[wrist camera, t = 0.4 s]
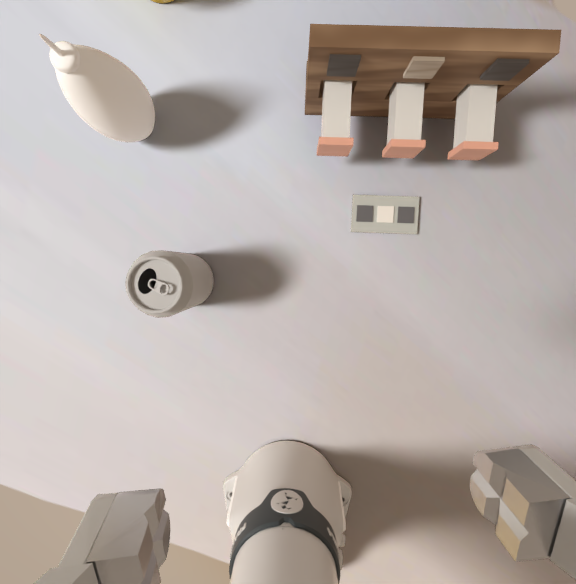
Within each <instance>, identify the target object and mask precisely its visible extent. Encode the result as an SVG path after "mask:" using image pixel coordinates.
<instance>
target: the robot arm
mask: <svg viewBox="0 0 576 584" xmlns="http://www.w3.org/2000/svg"><path fill="white" fill-rule="evenodd" d="M473 464H474V466H475V467H476V468H477V470H476V471H475V472H474V473H473V474H472V475H471V477H470V486H469V487H470V491H471V495H472V499H473V501H474V503H475V505H476V507H477V509H478V510H479V512H480V513H481V514H482V516H483V517H484V518H486V519H487V520H489V521H490V522H492V523H493V524H495V534H496V536H497V537H498V538H499V540H500V541H501V543H502V544H503V545H504V547H505V548H506V550H507V551H508V552H509V554H510V555H511V557H512V558H513V559H514V561H515V562H520V561H529V560H538V559H547V558H550V561H551V562H553V563H554V564H555V565H556V566H558V567H559V568H560V569H562V570H563V571H564V572H566V573H567V574H568V575H570V576H571V577H572V578H574V579H575V580H576V481H575V480H574V479H573V478H572V477H571V476H570V475H568V474H567V473H566V472H565V471H564V470H563V469H562V468H561V467H559V466H558V465H557V464H556V463H555V462H554V461H553V460H552V459H550V458H549V457H548V456H547V455H546V454H545V453H544V452H543V451H542V450H540V449H539V448H538V447H536V446H534V445H532V444H531V445H523V446H515V447H506V448H499V449H491V450H483V451H477V452H476V454H475V455H474V459H473ZM223 492H224V498H225V503H226V508H227V514H228V516H227V526H229V528H230V535H231V539H232V543H233V545H232V549H231V554H230V559H231V560H230V568H229V573H230V584H339V580H340V570H341V569H342V564H343V553H342V550H341V549H338V548H339V547H344V546H345V535H344V534H343V532H344V531H345V530H346V522H345V518H346V515H347V511H348V507H349V503H350V500H351V496H352V489H351V485H350V484H349V483H348V482H347V481H346V480H345V479H343V478H342V477H340V476H339V475H337V474H336V473H335V472H334V470H333V469H332V467H331V465H330V464H329V462H328V461H327V460H326V458H325V457H324V456H323V455H322V454H321V453H320V452H318V451H317V450H316V449H314V448H312V447H311V446H308V445H306V444H304V443H300V442H296V441H278V442H273V443H270V444H267V445H265V446H263V447H261V448H260V449H258V450H257V451H255V452H254V453H253V454H252V455H251V456H250V457H249V458H248V460H247V461H246V462H245V464H244V465H243V466H242V467H241V468H240V469H239V470H238V471H236V472H234V473H232V474H231V475H229V476H228V477H227V478H226V479H225V480H224V483H223ZM230 492H232V494H231V493H230ZM342 497H343V499H342ZM165 501H166V498H165V494H164V490H163V489H161V488H160V489H149V490H138V491H127V492H119V493H109V494H98V495H97V496H96V497H95V498H94V499H93V500H92V501H91V503H90V505H89V507H88V509H87V511H86V513H85V515H84V517H83V519H82V521H81V523H80V525H79V527H78V528H77V530H76V532H75V534H74V536H73V538H72V540H71V542H70V544H69V546H68V548H67V550H66V552H65V554H64V556H63V557H62V560H61V561H60V563H59V565H58V567H57V568H51V569H49V570H48V571H47V572H46V573H45V574H43V575H42V576H41V577H40V578H39V579H38V580H37V581H36V582H35V583H34V584H160V583H161V579H160V573H159V567H160V566H161V565H162V564H163V563H164V561H165V560H166V557H167V552H168V547H169V540H170V519H169V514H168V513H167V512H166V511H165V510H163V509H164V505H165Z"/></svg>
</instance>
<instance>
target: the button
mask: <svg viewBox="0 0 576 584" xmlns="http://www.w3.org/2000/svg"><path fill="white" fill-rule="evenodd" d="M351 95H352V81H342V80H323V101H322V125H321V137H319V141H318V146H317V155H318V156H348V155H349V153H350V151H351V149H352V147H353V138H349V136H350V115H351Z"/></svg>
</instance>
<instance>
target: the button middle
mask: <svg viewBox="0 0 576 584" xmlns="http://www.w3.org/2000/svg"><path fill="white" fill-rule="evenodd" d="M424 85H425V83H417V82H394V83H393V85H392V87H391V88H390V99H389V116H388V133H387V145H386V147H385V148H384V149H383V151H382V157H385V158H414V157H415V156H416V155H417V154H419V153H420V152H421V151H422V150H423V149H424V148H425V145H426V140H421V131H422V115H423V100H424Z"/></svg>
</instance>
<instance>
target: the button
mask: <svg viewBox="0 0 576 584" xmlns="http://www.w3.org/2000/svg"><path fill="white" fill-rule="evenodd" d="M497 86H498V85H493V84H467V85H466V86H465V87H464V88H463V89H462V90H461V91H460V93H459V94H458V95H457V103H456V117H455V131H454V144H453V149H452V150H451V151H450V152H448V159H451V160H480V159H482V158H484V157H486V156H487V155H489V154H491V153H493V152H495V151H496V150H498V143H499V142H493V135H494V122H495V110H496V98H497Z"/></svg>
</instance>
